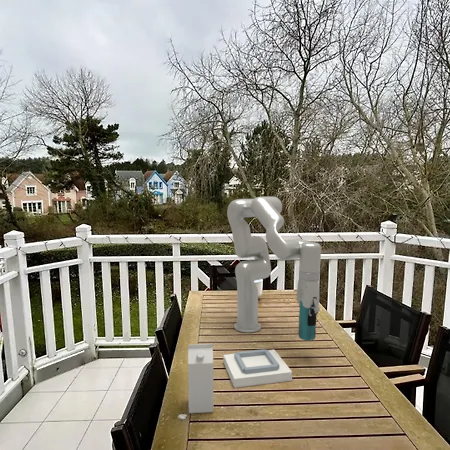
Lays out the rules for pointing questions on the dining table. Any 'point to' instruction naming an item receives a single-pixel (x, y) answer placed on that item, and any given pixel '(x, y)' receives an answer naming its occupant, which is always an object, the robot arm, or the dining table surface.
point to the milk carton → (200, 378)
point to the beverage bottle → (305, 324)
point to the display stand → (256, 368)
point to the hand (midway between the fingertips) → (307, 321)
